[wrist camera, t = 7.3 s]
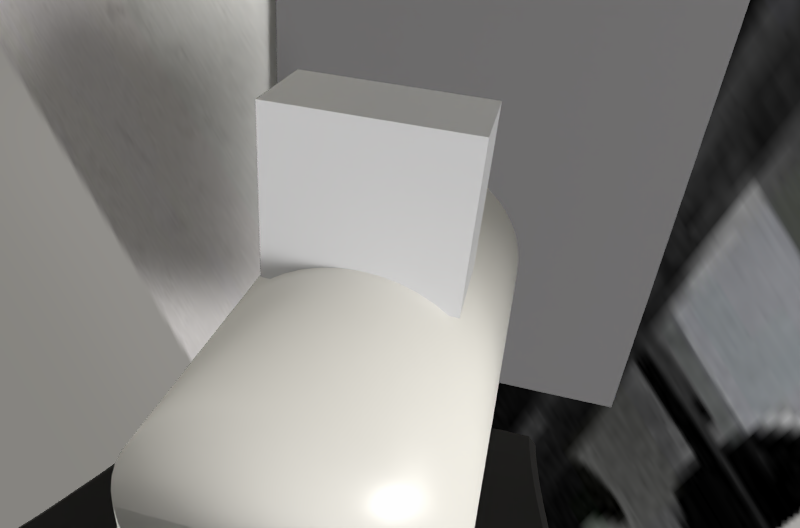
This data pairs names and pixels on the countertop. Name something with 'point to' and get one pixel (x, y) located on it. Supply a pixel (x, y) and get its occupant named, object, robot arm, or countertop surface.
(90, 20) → the countertop surface
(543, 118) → the mat
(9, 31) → the countertop surface
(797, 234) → the countertop surface
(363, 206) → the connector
